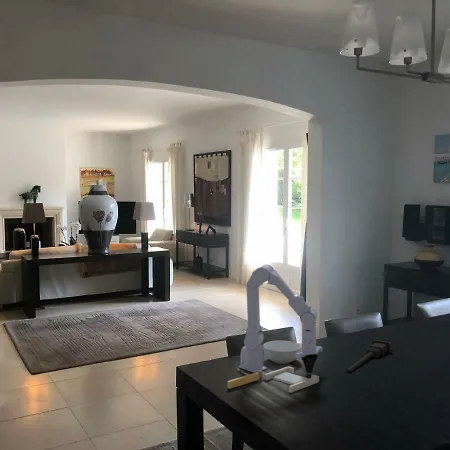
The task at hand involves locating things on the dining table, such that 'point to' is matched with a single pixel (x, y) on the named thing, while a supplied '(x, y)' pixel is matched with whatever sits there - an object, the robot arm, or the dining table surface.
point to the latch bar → (245, 379)
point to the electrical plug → (372, 352)
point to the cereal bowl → (281, 351)
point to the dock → (288, 369)
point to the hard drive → (289, 378)
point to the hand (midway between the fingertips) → (309, 372)
